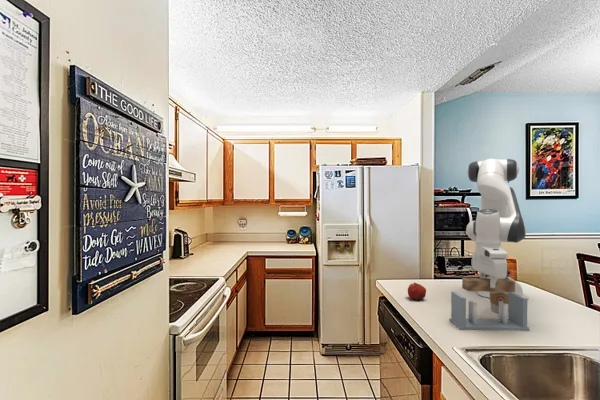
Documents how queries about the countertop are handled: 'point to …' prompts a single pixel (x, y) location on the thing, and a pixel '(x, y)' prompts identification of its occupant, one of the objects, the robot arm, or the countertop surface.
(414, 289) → the tomato
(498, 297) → the coffee cup
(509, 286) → the shelf board
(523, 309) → the shelf stand
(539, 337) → the countertop surface
